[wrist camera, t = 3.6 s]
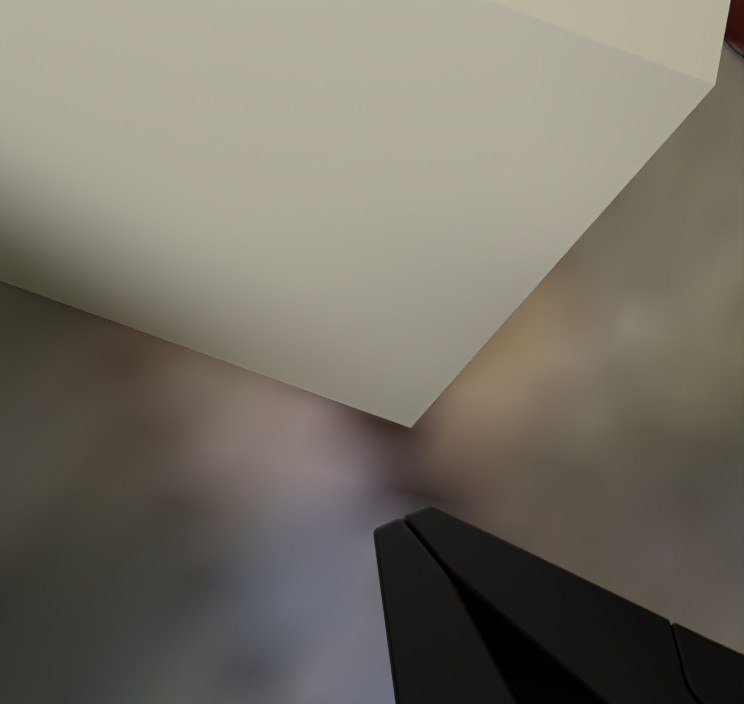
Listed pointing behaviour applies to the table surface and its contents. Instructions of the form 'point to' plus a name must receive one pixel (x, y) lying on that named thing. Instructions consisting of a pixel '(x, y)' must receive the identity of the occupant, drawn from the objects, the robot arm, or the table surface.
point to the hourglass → (735, 26)
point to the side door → (328, 168)
